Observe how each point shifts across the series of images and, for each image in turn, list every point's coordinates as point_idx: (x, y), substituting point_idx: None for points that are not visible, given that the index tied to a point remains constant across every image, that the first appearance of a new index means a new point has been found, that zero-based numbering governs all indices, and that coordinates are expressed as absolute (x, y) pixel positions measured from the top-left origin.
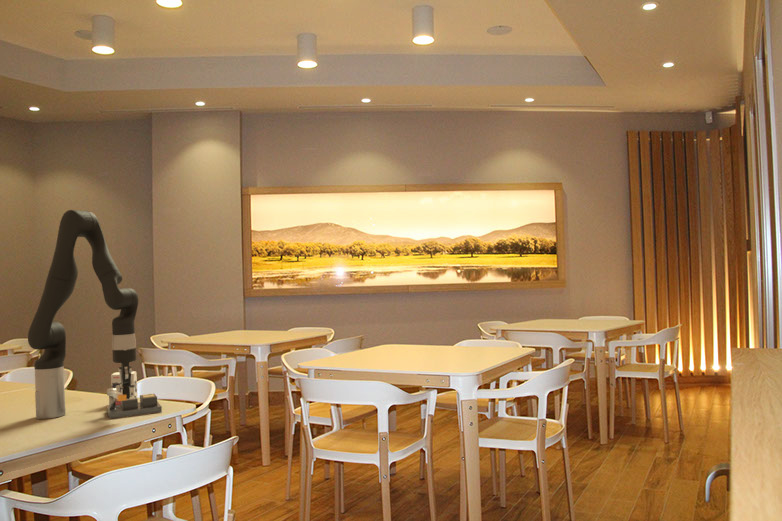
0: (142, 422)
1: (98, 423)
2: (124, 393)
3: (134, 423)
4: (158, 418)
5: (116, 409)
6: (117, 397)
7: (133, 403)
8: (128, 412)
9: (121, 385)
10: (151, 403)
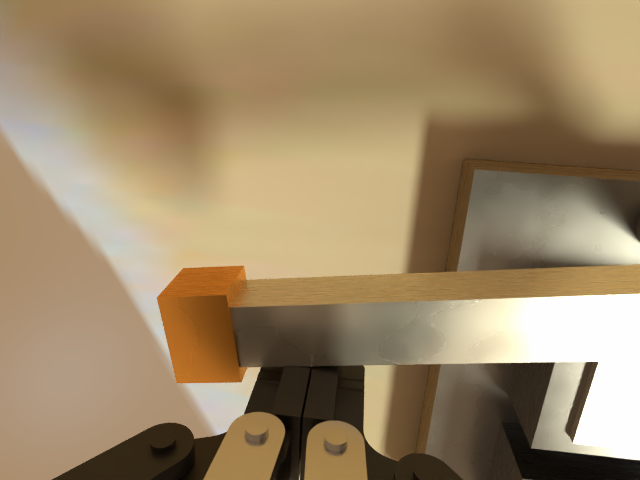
0: (154, 326)
1: (337, 51)
2: (256, 381)
3: (152, 281)
4: (218, 420)
5: (599, 249)
6: (206, 283)
7: (529, 393)
8: None
9: (324, 441)
10: None
